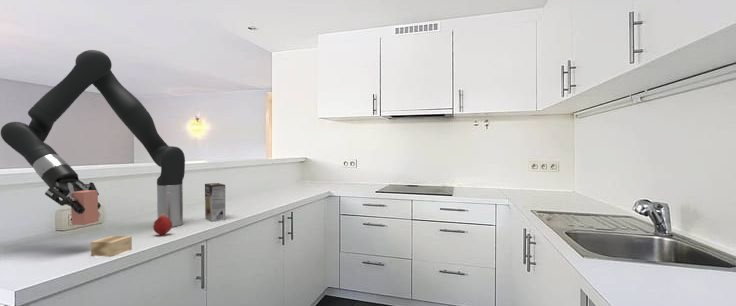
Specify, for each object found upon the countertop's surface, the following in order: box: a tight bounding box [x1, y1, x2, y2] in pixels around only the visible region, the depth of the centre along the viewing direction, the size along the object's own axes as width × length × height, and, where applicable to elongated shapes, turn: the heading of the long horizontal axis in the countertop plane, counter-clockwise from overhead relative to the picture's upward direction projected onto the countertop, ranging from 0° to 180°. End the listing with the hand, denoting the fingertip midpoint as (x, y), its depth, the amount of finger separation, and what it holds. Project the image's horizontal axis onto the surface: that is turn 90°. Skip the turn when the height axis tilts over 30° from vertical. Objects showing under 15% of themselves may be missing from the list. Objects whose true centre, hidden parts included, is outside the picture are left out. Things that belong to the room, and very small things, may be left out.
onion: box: [153, 214, 173, 236], centre depth 122 cm, size 6×6×8 cm
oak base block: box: [90, 235, 133, 257], centre depth 101 cm, size 7×7×4 cm
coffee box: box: [204, 182, 226, 222], centre depth 150 cm, size 9×6×16 cm
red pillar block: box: [70, 189, 100, 226], centre depth 103 cm, size 4×4×10 cm
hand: (90, 210), depth 103 cm, fingers closed on red pillar block, 4 cm apart
